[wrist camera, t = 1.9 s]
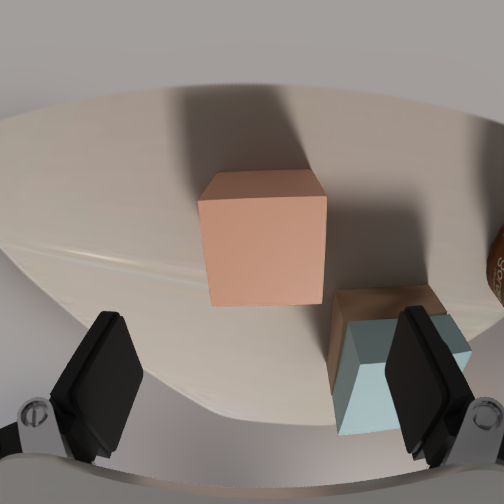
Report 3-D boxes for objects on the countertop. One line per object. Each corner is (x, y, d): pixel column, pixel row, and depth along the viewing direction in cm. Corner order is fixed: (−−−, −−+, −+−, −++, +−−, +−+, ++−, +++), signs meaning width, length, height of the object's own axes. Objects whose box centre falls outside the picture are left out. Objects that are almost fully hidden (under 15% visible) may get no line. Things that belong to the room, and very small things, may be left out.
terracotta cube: (311, 168, 20) (326, 196, 14) (310, 253, 22) (321, 303, 17) (216, 172, 20) (197, 200, 15) (225, 255, 23) (211, 306, 18)
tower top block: (449, 314, 20) (472, 350, 16) (419, 386, 23) (432, 421, 20) (348, 320, 20) (360, 364, 17) (332, 395, 24) (337, 435, 20)
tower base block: (427, 282, 23) (447, 311, 20) (407, 353, 27) (419, 384, 23) (333, 288, 24) (343, 321, 20) (325, 361, 27) (331, 395, 24)
